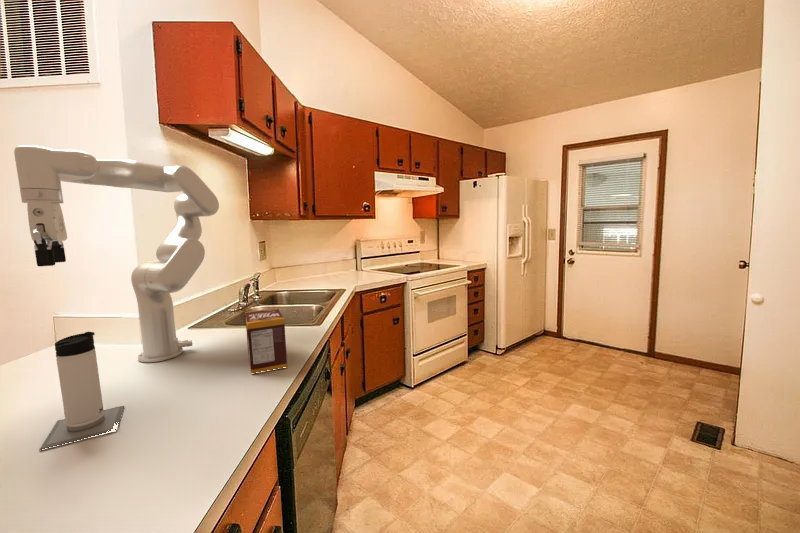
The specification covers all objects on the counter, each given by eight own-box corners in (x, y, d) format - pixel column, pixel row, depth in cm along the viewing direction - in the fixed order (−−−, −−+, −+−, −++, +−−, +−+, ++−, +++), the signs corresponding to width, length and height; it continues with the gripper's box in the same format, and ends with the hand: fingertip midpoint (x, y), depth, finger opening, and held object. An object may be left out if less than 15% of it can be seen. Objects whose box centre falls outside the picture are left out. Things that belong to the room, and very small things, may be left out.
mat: (124, 407, 86) (124, 404, 86) (116, 431, 76) (116, 429, 76) (57, 422, 80) (57, 420, 80) (39, 451, 70) (39, 448, 70)
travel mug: (113, 417, 80) (101, 332, 78) (78, 434, 74) (65, 342, 72) (94, 413, 82) (83, 330, 80) (60, 429, 76) (46, 339, 74)
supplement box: (281, 352, 121) (278, 307, 119) (287, 368, 107) (284, 318, 105) (248, 357, 117) (244, 311, 115) (250, 375, 103) (246, 323, 101)
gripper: (52, 195, 85) (62, 266, 87) (71, 199, 99) (79, 260, 101) (7, 194, 81) (19, 268, 83) (33, 199, 95) (43, 262, 98)
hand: (52, 264), depth 92 cm, fingers open, 9 cm apart
